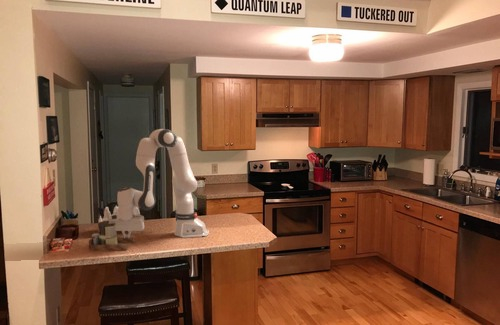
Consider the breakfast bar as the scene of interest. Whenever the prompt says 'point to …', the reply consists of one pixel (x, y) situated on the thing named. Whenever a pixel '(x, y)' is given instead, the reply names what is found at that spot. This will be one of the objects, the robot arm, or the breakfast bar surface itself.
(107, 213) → the white spiky piece
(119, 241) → the brown tray
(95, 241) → the pusher
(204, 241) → the breakfast bar surface
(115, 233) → the coffee can
